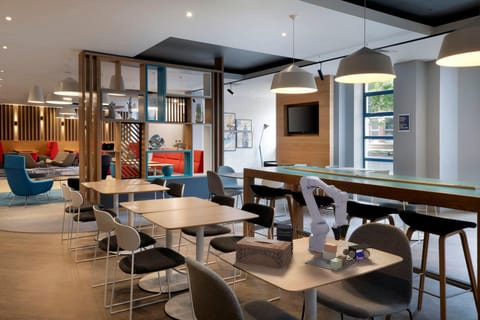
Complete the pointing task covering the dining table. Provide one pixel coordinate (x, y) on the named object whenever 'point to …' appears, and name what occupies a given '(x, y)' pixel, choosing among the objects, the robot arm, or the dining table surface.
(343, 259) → the walnut brick
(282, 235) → the storage jar
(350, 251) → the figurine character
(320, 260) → the felt mat
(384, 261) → the dining table surface
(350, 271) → the dining table surface
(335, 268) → the sage brick
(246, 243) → the tissue box cover
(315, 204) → the robot arm
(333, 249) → the terracotta brick
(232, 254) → the dining table surface
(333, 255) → the pale grey brick
